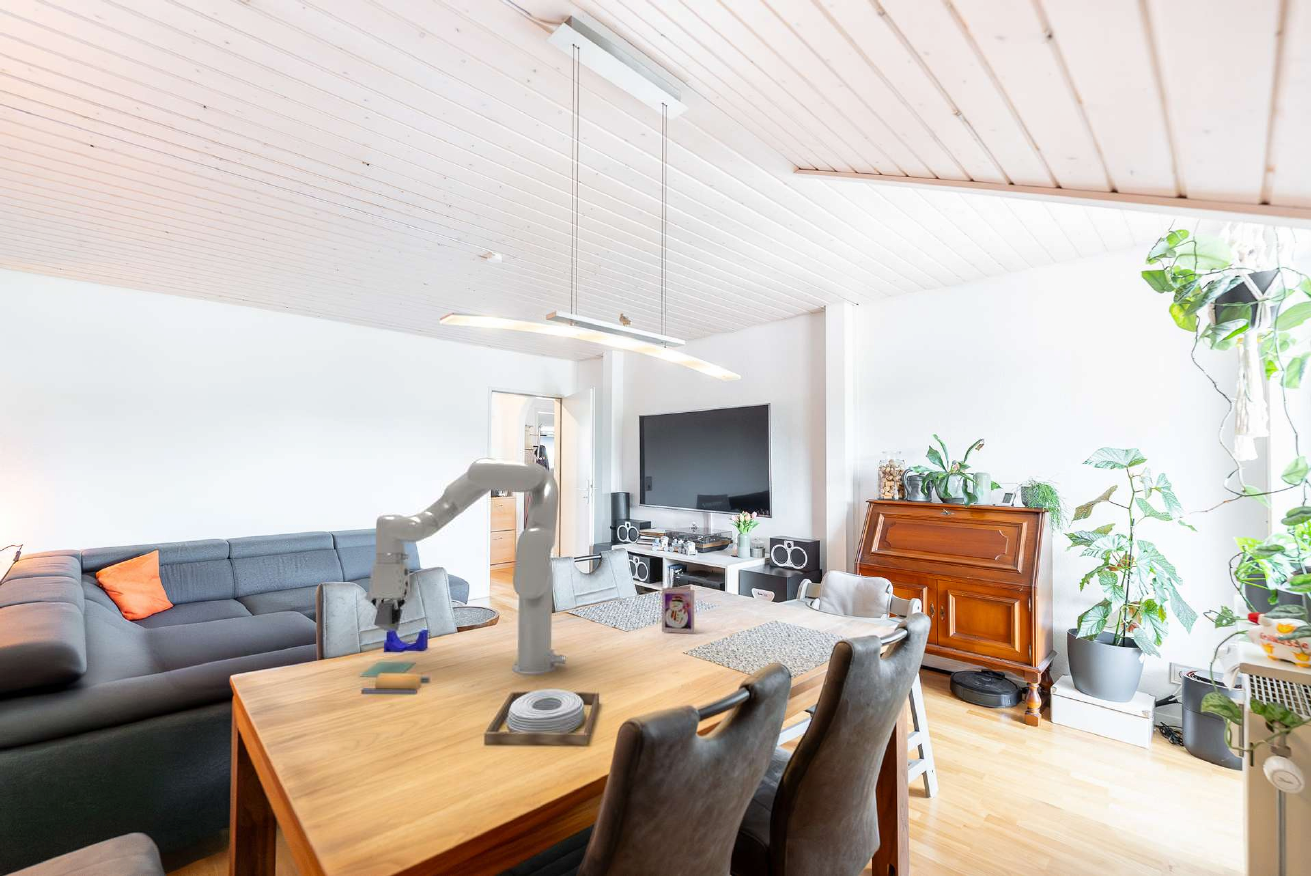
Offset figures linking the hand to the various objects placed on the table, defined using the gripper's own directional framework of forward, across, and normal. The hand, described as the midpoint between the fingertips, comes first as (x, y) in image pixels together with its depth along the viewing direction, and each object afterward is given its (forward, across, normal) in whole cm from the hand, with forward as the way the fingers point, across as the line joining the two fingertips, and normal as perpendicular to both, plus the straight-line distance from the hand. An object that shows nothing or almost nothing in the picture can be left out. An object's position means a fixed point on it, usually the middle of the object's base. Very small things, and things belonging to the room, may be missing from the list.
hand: (388, 621), depth 167 cm
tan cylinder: (+14, -10, +13) cm, 21 cm away
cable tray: (+14, -53, +33) cm, 64 cm away
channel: (+14, -9, +13) cm, 21 cm away
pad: (+14, 0, 0) cm, 14 cm away
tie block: (+1, 0, +2) cm, 2 cm away
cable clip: (+14, +3, -17) cm, 23 cm away
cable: (+14, -52, +32) cm, 63 cm away
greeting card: (+14, -84, -41) cm, 95 cm away
